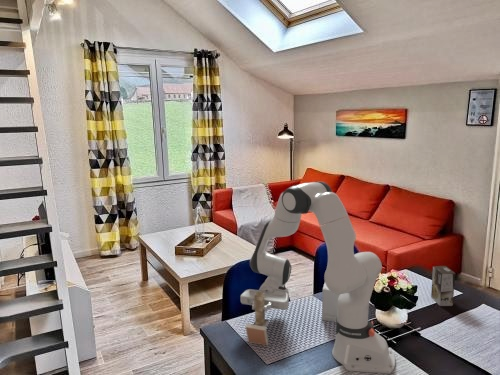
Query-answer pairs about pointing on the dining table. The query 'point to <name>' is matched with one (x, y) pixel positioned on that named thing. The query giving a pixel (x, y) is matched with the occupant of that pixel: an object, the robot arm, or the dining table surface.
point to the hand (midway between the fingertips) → (259, 308)
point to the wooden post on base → (260, 310)
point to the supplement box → (329, 304)
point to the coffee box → (443, 285)
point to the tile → (257, 334)
